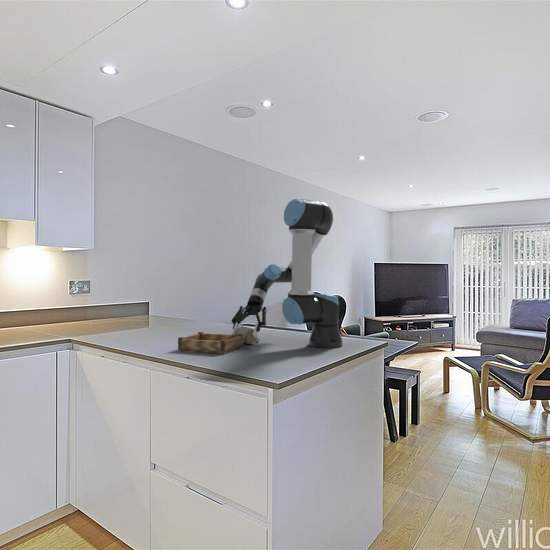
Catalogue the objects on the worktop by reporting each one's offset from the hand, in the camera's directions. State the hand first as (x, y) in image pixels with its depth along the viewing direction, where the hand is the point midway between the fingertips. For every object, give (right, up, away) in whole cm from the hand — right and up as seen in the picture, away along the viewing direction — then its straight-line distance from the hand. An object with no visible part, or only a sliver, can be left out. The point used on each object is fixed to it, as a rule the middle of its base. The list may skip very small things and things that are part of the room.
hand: (243, 335), depth 183 cm
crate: (-13, -4, -10) cm, 17 cm away
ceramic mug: (+2, -4, +4) cm, 6 cm away
